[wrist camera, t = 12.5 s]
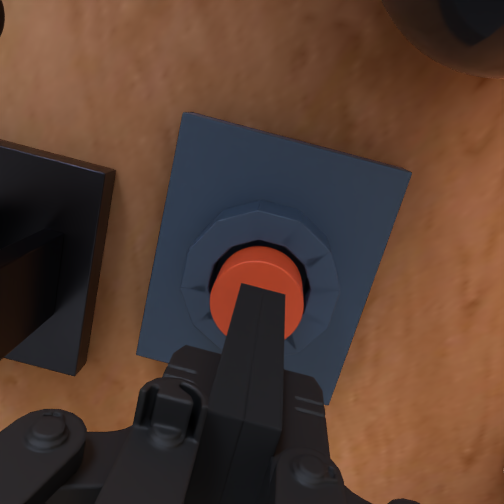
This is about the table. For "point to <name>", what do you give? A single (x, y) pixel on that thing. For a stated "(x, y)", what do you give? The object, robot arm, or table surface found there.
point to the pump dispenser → (455, 32)
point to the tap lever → (1, 17)
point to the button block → (269, 237)
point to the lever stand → (50, 255)
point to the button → (257, 284)
